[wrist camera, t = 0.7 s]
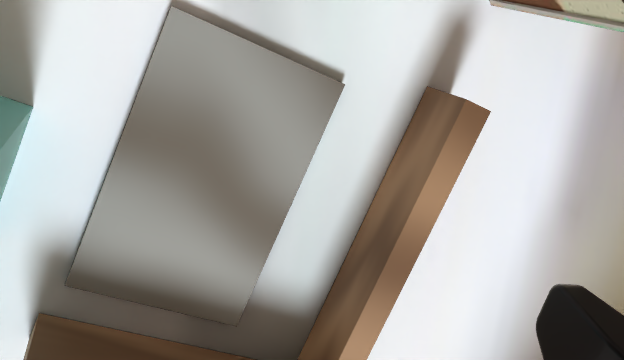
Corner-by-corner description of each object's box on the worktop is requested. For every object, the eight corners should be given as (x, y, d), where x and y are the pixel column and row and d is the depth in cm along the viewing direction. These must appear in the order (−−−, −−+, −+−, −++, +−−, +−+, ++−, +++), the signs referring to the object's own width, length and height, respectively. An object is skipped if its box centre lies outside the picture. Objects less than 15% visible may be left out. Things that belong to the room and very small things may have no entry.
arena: (305, 394, 27) (326, 440, 24) (28, 339, 22) (15, 389, 19) (449, 97, 24) (491, 111, 21) (170, -38, 19) (177, -41, 17)
